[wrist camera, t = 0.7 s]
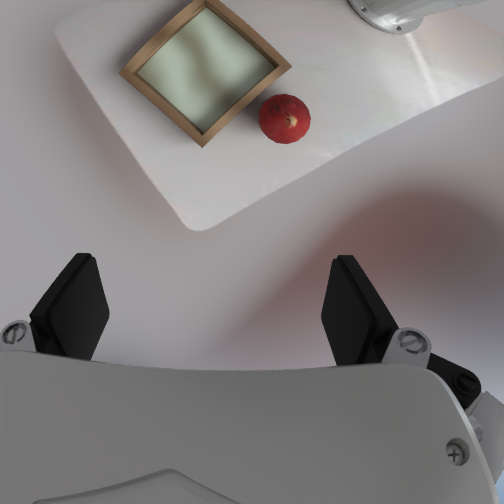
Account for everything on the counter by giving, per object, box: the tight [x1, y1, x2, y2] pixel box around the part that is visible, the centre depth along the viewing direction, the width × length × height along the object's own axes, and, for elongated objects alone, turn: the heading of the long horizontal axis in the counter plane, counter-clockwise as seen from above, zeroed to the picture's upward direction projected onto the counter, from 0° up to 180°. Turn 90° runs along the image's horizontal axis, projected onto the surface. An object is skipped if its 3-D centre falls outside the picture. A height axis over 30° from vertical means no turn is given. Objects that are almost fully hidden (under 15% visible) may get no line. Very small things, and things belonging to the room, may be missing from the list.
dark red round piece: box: [259, 94, 311, 144], centre depth 31 cm, size 6×6×8 cm
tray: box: [119, 0, 292, 148], centre depth 29 cm, size 14×14×4 cm
